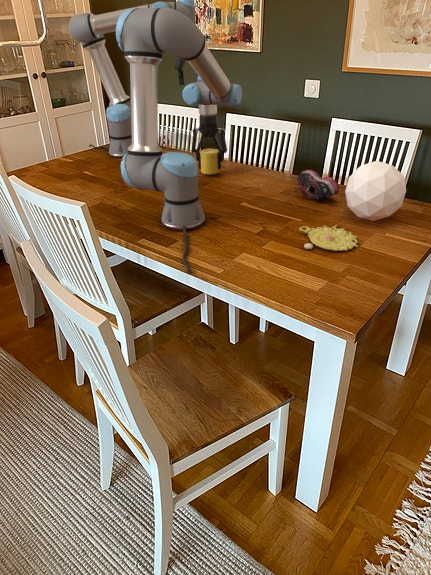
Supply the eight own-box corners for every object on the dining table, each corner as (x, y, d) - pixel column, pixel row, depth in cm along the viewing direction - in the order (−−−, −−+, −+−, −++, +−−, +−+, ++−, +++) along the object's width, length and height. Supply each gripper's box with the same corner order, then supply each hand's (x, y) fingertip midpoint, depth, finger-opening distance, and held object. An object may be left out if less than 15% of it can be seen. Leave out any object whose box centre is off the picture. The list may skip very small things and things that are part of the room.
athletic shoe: (306, 169, 182) (282, 176, 178) (340, 163, 162) (313, 171, 158) (311, 196, 184) (288, 204, 181) (345, 193, 165) (320, 202, 161)
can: (200, 168, 201) (199, 148, 196) (218, 168, 201) (218, 148, 196) (201, 174, 194) (200, 154, 189) (219, 173, 194) (219, 153, 189)
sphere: (378, 240, 155) (398, 211, 136) (328, 211, 159) (341, 179, 141) (404, 201, 160) (427, 168, 141) (355, 174, 164) (371, 139, 145)
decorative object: (343, 255, 128) (285, 234, 139) (342, 262, 130) (284, 241, 140) (372, 230, 142) (317, 213, 152) (371, 237, 143) (316, 219, 153)
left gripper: (175, 36, 202) (179, 86, 213) (211, 33, 218) (212, 80, 229) (164, 36, 206) (168, 85, 217) (199, 33, 222) (201, 79, 233)
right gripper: (234, 112, 186) (234, 166, 198) (185, 112, 189) (189, 165, 201) (231, 116, 180) (231, 171, 192) (181, 116, 183) (185, 170, 195)
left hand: (190, 83), depth 223 cm, fingers open, 13 cm apart
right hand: (209, 168), depth 197 cm, fingers closed on can, 8 cm apart
